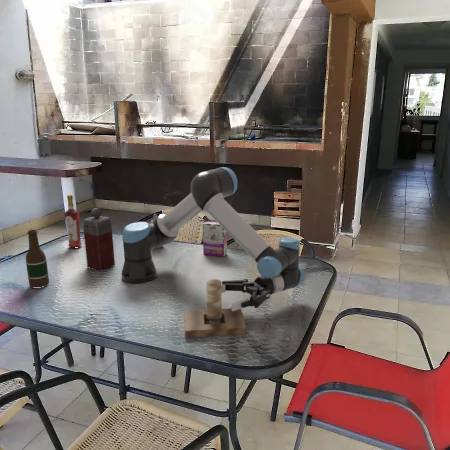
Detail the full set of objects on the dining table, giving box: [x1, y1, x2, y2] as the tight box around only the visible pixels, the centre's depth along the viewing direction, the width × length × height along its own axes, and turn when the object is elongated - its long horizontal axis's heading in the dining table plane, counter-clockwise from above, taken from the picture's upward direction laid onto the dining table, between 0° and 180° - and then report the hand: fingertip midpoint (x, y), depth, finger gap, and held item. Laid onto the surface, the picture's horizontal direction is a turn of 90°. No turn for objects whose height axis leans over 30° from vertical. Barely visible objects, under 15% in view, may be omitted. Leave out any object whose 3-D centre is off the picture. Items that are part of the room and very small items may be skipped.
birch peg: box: [205, 278, 223, 324], centre depth 146 cm, size 5×5×16 cm
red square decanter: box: [82, 207, 116, 272], centre depth 198 cm, size 9×11×28 cm
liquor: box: [63, 194, 83, 249], centre depth 225 cm, size 7×7×28 cm
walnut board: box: [184, 308, 247, 338], centre depth 148 cm, size 20×14×2 cm
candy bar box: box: [202, 221, 228, 258], centre depth 214 cm, size 11×5×16 cm, turn 69°
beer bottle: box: [25, 229, 50, 288], centre depth 178 cm, size 8×8×24 cm
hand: (220, 299), depth 146 cm, fingers open, 13 cm apart
